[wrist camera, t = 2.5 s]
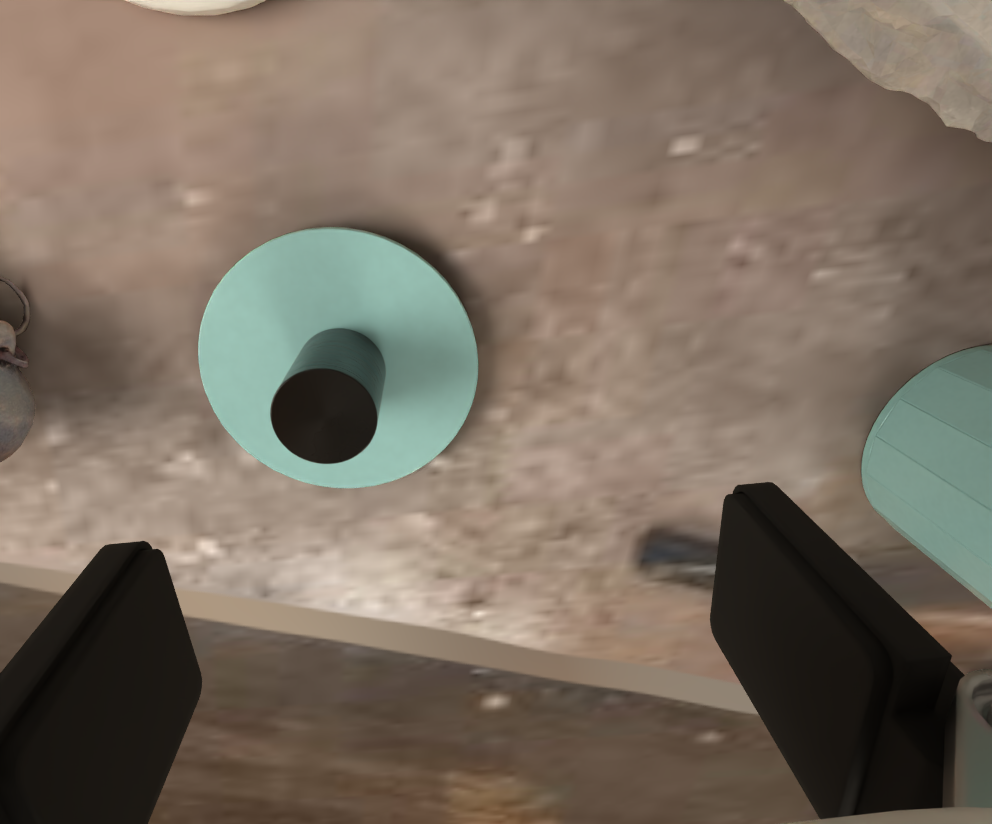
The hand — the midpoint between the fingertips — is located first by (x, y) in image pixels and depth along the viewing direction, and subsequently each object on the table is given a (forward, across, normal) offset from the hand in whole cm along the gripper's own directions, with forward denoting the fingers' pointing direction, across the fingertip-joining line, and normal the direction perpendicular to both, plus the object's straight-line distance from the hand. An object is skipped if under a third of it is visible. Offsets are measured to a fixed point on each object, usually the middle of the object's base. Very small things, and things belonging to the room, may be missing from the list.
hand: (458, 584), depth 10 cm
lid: (+17, +4, +2) cm, 18 cm away
